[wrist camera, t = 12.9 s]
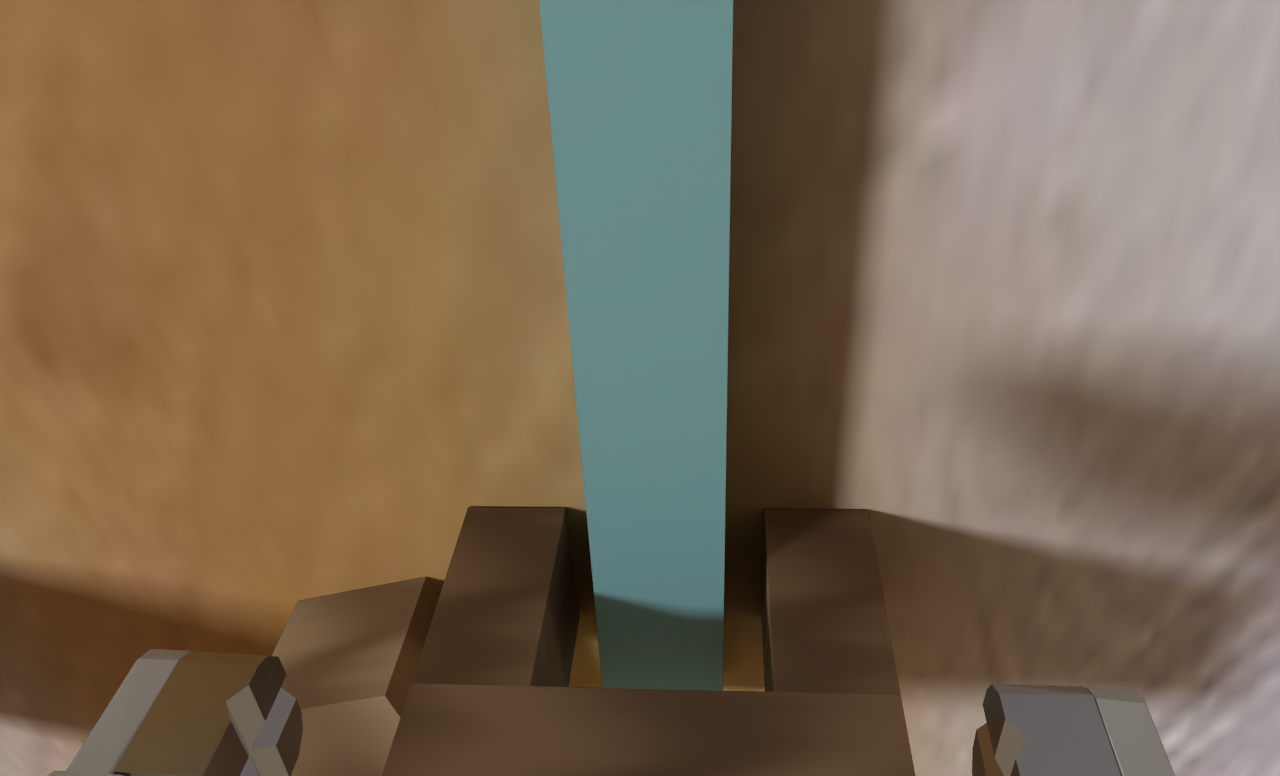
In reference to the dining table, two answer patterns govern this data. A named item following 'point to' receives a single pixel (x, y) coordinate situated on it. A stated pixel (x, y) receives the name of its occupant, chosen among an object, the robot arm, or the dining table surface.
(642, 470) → the teal square bar
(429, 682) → the wooden u-shaped block
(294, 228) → the dining table surface
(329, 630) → the bead cube
